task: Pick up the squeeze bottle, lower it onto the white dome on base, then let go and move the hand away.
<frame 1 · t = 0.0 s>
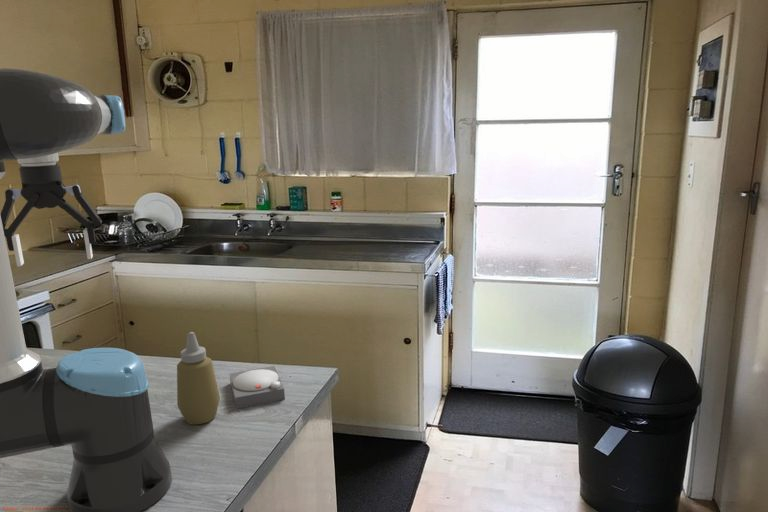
hand: (56, 261, 125), 28 cm above the counter, tool pointing down, fingers open, 13 cm apart
white dome on base: (256, 390, 123), on the counter
squeeze bottle: (200, 418, 113), on the counter
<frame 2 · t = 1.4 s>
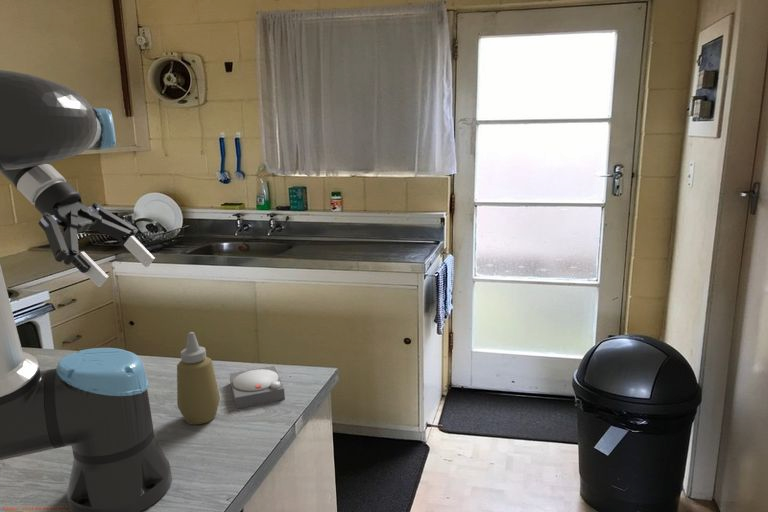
hand: (128, 272, 110), 29 cm above the counter, tool tilted 45°, fingers open, 13 cm apart
nothing on the counter moved.
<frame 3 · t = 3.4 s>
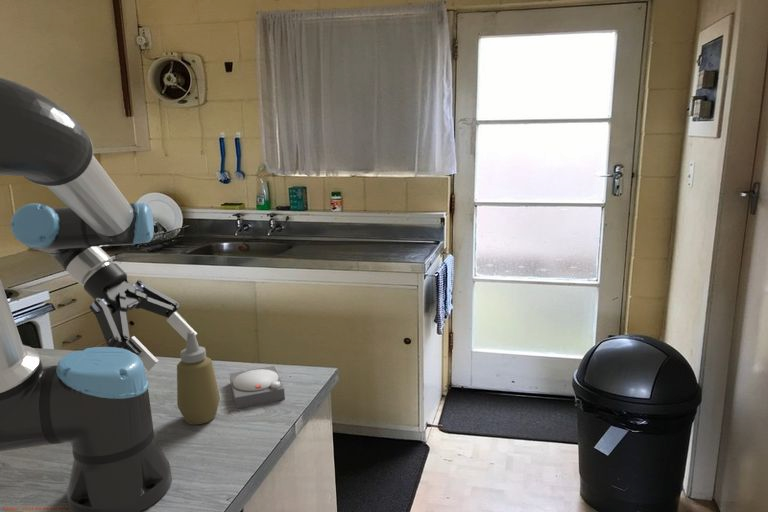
hand: (174, 351, 113), 13 cm above the counter, tool tilted 45°, fingers open, 13 cm apart
nothing on the counter moved.
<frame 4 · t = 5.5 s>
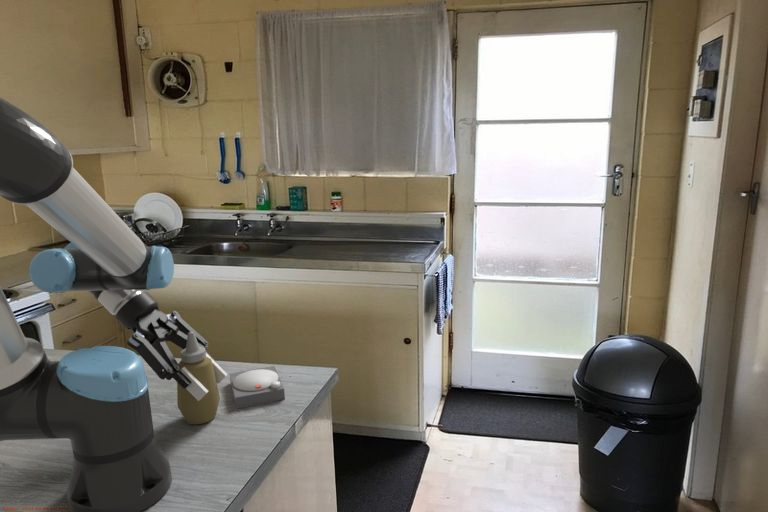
hand: (213, 387, 110), 7 cm above the counter, tool tilted 45°, fingers closed on squeeze bottle, 6 cm apart
squeeze bottle: (200, 418, 113), on the counter, touching gripper
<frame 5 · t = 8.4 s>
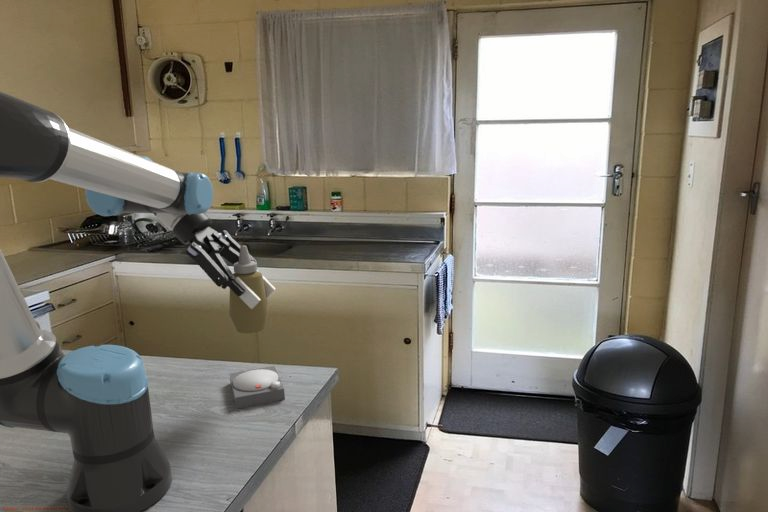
hand: (263, 298, 117), 21 cm above the counter, tool tilted 45°, fingers closed on squeeze bottle, 6 cm apart
squeeze bottle: (250, 329, 120), point 14 cm above the counter, touching gripper
when the fingers open (11 cm above the counter, at t = 11.1 s): squeeze bottle drops 1 cm, resting on white dome on base.
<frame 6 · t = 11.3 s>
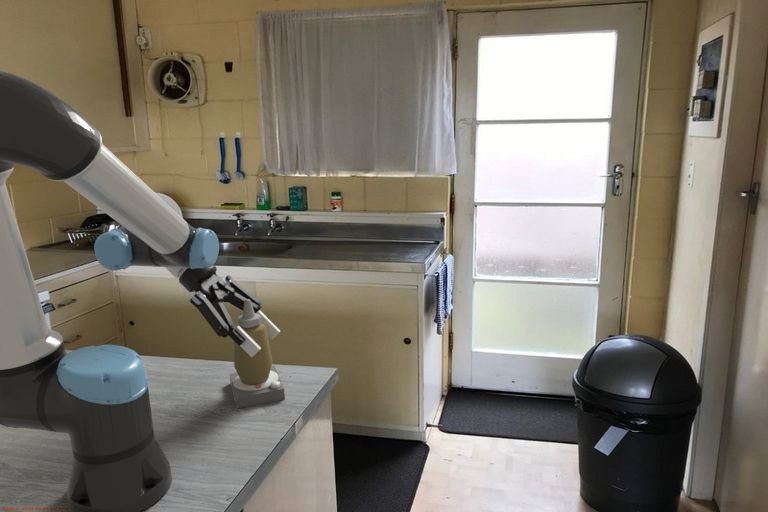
hand: (266, 343, 120), 11 cm above the counter, tool tilted 45°, fingers open, 9 cm apart
squeeze bottle: (255, 380, 123), point 3 cm above the counter, touching white dome on base
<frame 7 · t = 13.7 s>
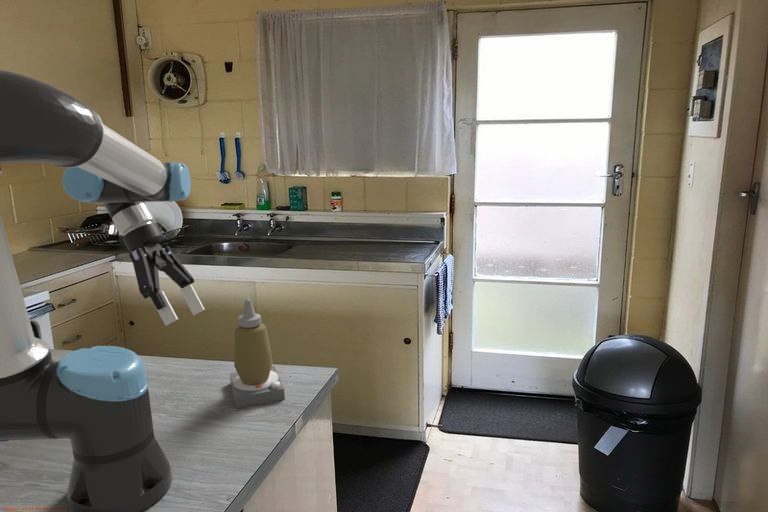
hand: (186, 317, 121), 17 cm above the counter, tool tilted 30°, fingers open, 13 cm apart
nothing on the counter moved.
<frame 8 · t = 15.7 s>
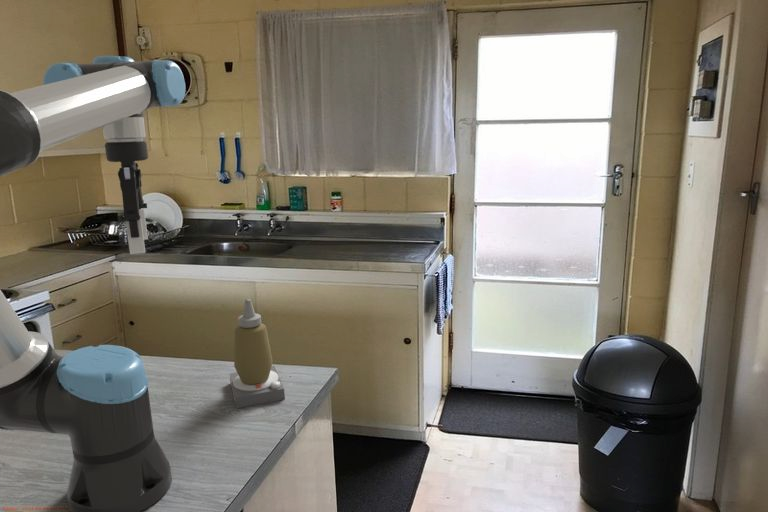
hand: (139, 246, 116), 33 cm above the counter, tool pointing down, fingers open, 13 cm apart
nothing on the counter moved.
at the end: squeeze bottle inside the target area on the white dome on base (0.2 cm from its centre), point 2.6 cm above the white dome on base's base; squeeze bottle tilted 0°; the gripper is holding nothing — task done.
